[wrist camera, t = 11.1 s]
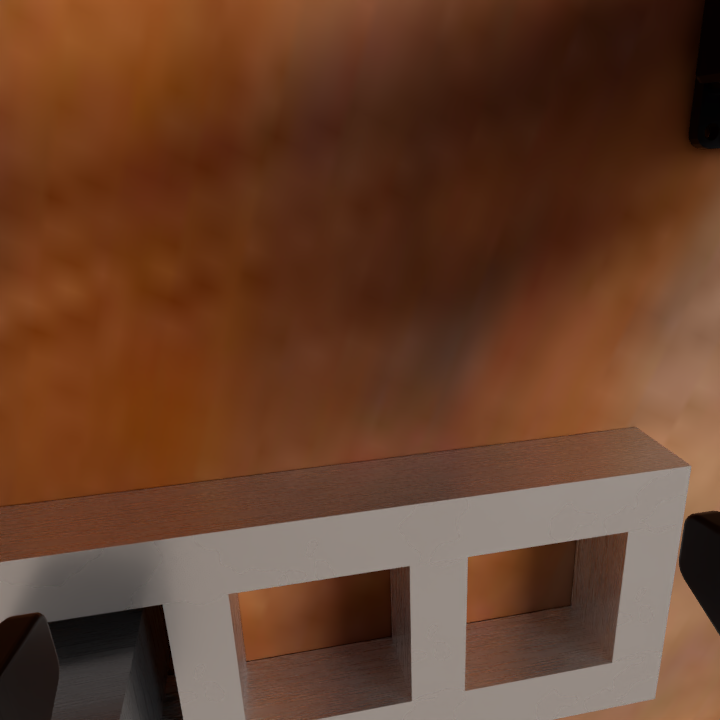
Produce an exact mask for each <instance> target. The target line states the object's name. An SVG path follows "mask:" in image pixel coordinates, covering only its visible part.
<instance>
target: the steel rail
mask: <svg viewBox="0 0 720 720" xmlns="http://www.w3.org/2000/svg"><path fill="white" fill-rule="evenodd" d="M690 472H691V465H689V464H688V463H687V462H685V461H684V460H682V459H681V458H679V457H678V456H677V455H675V454H674V453H672V452H671V451H670V450H668V449H667V448H665V447H664V446H662V445H661V444H660V443H658V442H657V441H655V440H654V439H652V438H651V437H650V436H648V435H647V434H645V433H644V432H642V431H641V430H640V429H638V428H637V427H633V428H625V429H617V430H609V431H601V432H594V433H586V434H578V435H570V436H562V437H554V438H546V439H538V440H530V441H522V442H514V443H506V444H498V445H490V446H483V447H475V448H467V449H459V450H451V451H443V452H435V453H427V454H419V455H411V456H403V457H395V458H387V459H380V460H372V461H364V462H356V463H348V464H340V465H332V466H324V467H316V468H308V469H300V470H292V471H284V472H277V473H269V474H261V475H253V476H245V477H237V478H229V479H221V480H213V481H205V482H197V483H189V484H181V485H173V486H166V487H158V488H150V489H142V490H134V491H126V492H118V493H110V494H102V495H94V496H86V497H78V498H70V499H63V500H55V501H47V502H39V503H31V504H23V505H15V506H7V507H0V623H1V622H2V621H3V620H5V619H6V618H8V617H11V616H16V615H23V614H29V613H36V612H39V613H41V614H43V615H44V616H45V617H46V619H47V622H52V621H59V620H65V619H72V618H78V617H84V616H91V615H97V614H104V613H110V612H117V611H123V610H129V609H136V608H142V607H149V606H155V605H162V604H163V610H164V615H165V621H166V626H167V632H168V637H169V643H170V648H171V654H172V659H173V665H174V670H175V675H169V676H167V683H166V691H165V698H164V705H163V712H162V720H553V719H558V718H563V717H568V716H573V715H578V714H583V713H587V712H592V711H597V710H602V709H607V708H612V707H617V706H622V705H627V704H631V703H636V702H641V701H646V700H651V699H655V694H656V688H657V682H658V675H659V669H660V663H661V656H662V650H663V643H664V637H665V631H666V624H667V618H668V612H669V605H670V599H671V593H672V586H673V580H674V573H675V567H676V561H677V554H678V548H679V542H680V535H681V529H682V523H683V516H684V510H685V503H686V497H687V491H688V484H689V478H690ZM573 540H577V543H576V554H575V565H574V576H573V587H572V598H571V606H567V607H561V608H555V609H549V610H544V611H538V612H532V613H526V614H520V615H515V616H509V617H503V618H497V619H492V620H486V621H480V622H474V623H469V624H466V611H467V565H468V557H470V556H477V555H483V554H489V553H496V552H502V551H509V550H515V549H522V548H528V547H534V546H541V545H547V544H554V543H560V542H567V541H573ZM387 569H390V589H391V624H392V637H388V638H382V639H376V640H371V641H365V642H359V643H353V644H348V645H342V646H336V647H330V648H325V649H319V650H313V651H307V652H302V653H296V654H290V655H284V656H279V657H273V658H267V659H261V660H255V661H250V662H246V656H245V649H244V641H243V633H242V626H241V618H240V610H239V603H238V595H237V593H239V592H245V591H252V590H258V589H264V588H271V587H277V586H284V585H290V584H297V583H303V582H309V581H316V580H322V579H329V578H335V577H342V576H348V575H354V574H361V573H367V572H374V571H380V570H387Z"/></svg>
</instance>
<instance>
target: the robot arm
mask: <svg viewBox="0 0 720 720" xmlns="http://www.w3.org/2000/svg"><path fill="white" fill-rule="evenodd" d="M708 125H709V127H710V134H709V136H708V137H707V138H706V137H705V129H706V127H707V126H708ZM689 140H690V142H691V144H692V145H693V146H694V147H695V148H700V149H714V148H720V0H705V6H704V14H703V22H702V30H701V37H700V45H699V53H698V61H697V68H696V80H695V88H694V96H693V103H692V111H691V119H690V127H689ZM679 567H680V571H681V573H682V576H683V578H684V580H685V581H686V583H687V584H688V586H689V588H690V589H691V591H692V592H693V594H694V595H695V597H696V599H697V600H698V602H699V603H700V605H701V607H702V608H703V610H704V611H705V613H706V614H707V616H708V618H709V619H710V621H711V622H712V624H713V626H714V627H715V629H716V630H717V632H718V633H719V635H720V512H718V511H708V512H702V513H695V514H691V515H690V516H688V517H687V519H686V520H685V523H684V529H683V536H682V542H681V549H680V555H679ZM59 673H60V672H59V660H58V656H57V653H56V649H55V646H54V642H53V639H52V635H51V632H50V628H49V625H48V622H47V619H46V617H45V616H44V615H43V614H41V613H39V612H36V613H29V614H23V615H16V616H11V617H8V618H6V619H5V620H3V621H2V622H1V623H0V720H51V718H52V713H53V708H54V703H55V698H56V693H57V687H58V682H59Z"/></svg>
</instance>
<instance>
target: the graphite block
mask: <svg viewBox="0 0 720 720" xmlns="http://www.w3.org/2000/svg"><path fill="white" fill-rule="evenodd" d="M48 625H49V628H50V632H51V635H52V639H53V642H54V646H55V649H56V653H57V656H58V660H59V672H60V673H59V682H58V687H57V693H56V698H55V703H54V708H53V713H52V718H51V720H162V712H163V705H164V698H165V691H166V683H167V676H168V669H169V662H170V655H169V650H168V644H167V639H166V634H165V629H164V624H163V619H162V614H161V609H160V605H155V606H149V607H142V608H136V609H129V610H123V611H117V612H110V613H104V614H97V615H91V616H84V617H78V618H72V619H65V620H59V621H52V622H48Z"/></svg>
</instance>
